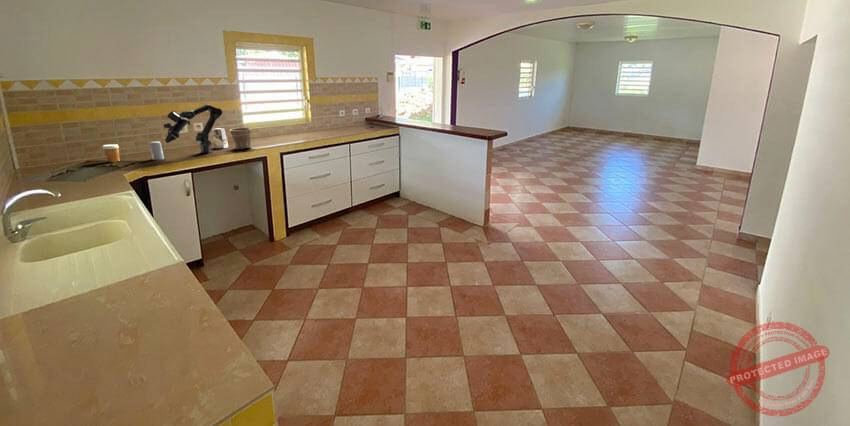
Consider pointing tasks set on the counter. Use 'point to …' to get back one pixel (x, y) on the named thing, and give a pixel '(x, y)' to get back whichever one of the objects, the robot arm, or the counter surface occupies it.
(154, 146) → the white tapered cylinder
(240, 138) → the plant pot
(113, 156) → the disposable coffee cup
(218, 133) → the coffee box
